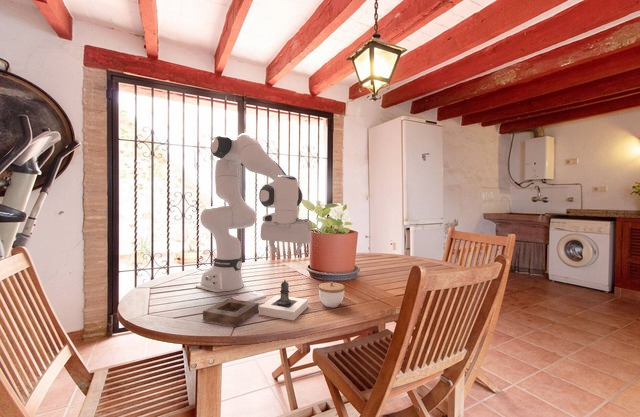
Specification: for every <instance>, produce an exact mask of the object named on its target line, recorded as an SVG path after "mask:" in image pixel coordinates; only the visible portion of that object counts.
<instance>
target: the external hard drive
mask: <svg viewBox="0 0 640 417" xmlns="http://www.w3.org/2000/svg"><path fill="white" fill-rule="evenodd" d="M264 298H267V295H266V294H265V293H262V292H258V291H255V290H254V291H250V292H247V293H243V294H239V295H236V296H232V297H230V299H235V300H241V301H248V302H254V301H257V300H261V299H264Z"/></svg>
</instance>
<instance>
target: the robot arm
mask: <svg viewBox="0 0 640 417" xmlns="http://www.w3.org/2000/svg"><path fill="white" fill-rule="evenodd" d="M210 143H211V144H210V151H211V154H212V156H214V157H216V158H218V159H217V160H216V163H215V171H214V173H215V175H214V178H215V179H214V180H215V182H214V183H215V193H216V196H217V197H218V198H219V199H222V200H223V201H225V202H226V203H227V205H213V206H208V207H204V209H202V212H201V214H200V222H201V225H202V226H203V228H205V229H207V230H208V231H209V232H210V233H211V234H212V235H213V238H214V240H215V246H216V257H215V258H214V259H212V260H211V262H212V264H213V265H212V266H211V267H209V268H208V269H207V270H205V271H204V272H203V273H202V276H201V279H200V280H201V281H198V283H196V284H195V288H198V289H202V290H205V291H206V290H207V291H209V292H213V293H221V292H227V291H228V292H230V291H235V290H239V289H240V290H241V289H242V288H244V286H245V285H244V282H243V274H242V266H243V265H242V264H243V263H242V261H243V259H242V255H241V254H242V250H241V248H242V242H241V241H240V239H239V238H238V237H236V236H235V235H232V234H231V233H230V232H229V231H230V229H232V230H236V229H237V230H239V229H240V230H241V229H247V228H251V227H253V226H254V224H255V223H256V220H257V215H256V214H257V213H256V212H255V210H254V209H253V208H252V207H251V206H249V205H248V204H247V203H246V202H245V200H244V198H243V196H242V194H241V188H240V180H239V178H240V177H239V167H240V166H242V167H244V168H245V169H246V170H248V171H249V172H252V173H256V174H259V175H263V176H266V177H267V178H270V179H271V180H273V181H271V182H270V183H267V184H266V183H265V184H264V185H263V186H261V188H260V190H259V194H258V196H259V197H258V198H259V202H260V204H261V205H262V206H263V207H265V208H267V209H269V208H270V209H274V212H273V213H270V214H266V215H263V216H262V224H261V226H260V238H261V240H262V241H268V244H269V246H270V248H271V253H274V254H275V253H277V252H278V247H276V246H275V243H276V242H283V243H291V244H292V243H293V244H296V246H297V248H296V249H294V251H293V255H295V256H299V255H300V250H301V248H302V247H303V245H304V244H306V245H307V244H310V243H311V241H312V240H313V238H312V221H311V220H309V218H299V206H300V205H301V203H302V201H303V193H302V190H301V188H300V187H299V183H298V179H297V178H296V177H295V176H292V175H288V174H286V173H285V171H284V170H283V169H282V167H281V166H280V165H279V164H278V163H277V162H276V161H275V160H274V159H272V157H270V155H268V153H266V151H265V150H264V148H263V147H262V145H261V144H260V142H259V141H258V140H257V139H256V137H255V136H254V135H252V134H250V133H248V132H244V133H240V134H239V135H238V136H237V137H236V138H235V137H232V136H227V135H216V136H214V138H213V139H212V140H211V142H210Z"/></svg>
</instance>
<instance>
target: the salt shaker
mask: <svg viewBox="0 0 640 417" xmlns="http://www.w3.org/2000/svg"><path fill="white" fill-rule="evenodd" d="M283 280H284V281H282V282H281V283H280V291H279V292H280V296H281V298H280V299H279V300H277V303H278V306H281V307H287V308H290V306H291V303H292V300H290V299H289V297H290V296H289V294H290V291H289V290H290V289H289V283H288V281H286V279H283Z"/></svg>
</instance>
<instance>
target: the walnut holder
mask: <svg viewBox="0 0 640 417" xmlns="http://www.w3.org/2000/svg"><path fill="white" fill-rule="evenodd" d="M259 303H260V302H254V301H252V302H248V301H241V300H235V299H231V298H226V299H224V300H222V301H220V302H218V303H216V304H214V305H212V306H210V307H208V308H206V309H203V311H202V320H203V321H205V320H206V321H208V322H215V323H220V324H221V323H222V324H224V325H225V324H226V325H231V326H235V327H237V326H239V325H240V324H242V323H243V322H245V321H246V320H247V319H249V318H251V317H252V316H254V315H255V314H257V313H259V305H260V304H259Z"/></svg>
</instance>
